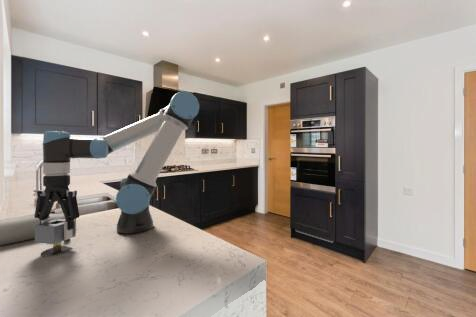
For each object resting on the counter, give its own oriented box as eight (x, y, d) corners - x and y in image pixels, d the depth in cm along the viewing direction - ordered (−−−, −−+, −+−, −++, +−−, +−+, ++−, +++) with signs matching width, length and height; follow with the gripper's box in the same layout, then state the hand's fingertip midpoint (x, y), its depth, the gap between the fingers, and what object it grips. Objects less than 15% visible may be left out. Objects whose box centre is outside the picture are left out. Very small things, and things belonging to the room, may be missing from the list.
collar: (75, 236, 82) (75, 220, 82) (53, 244, 75) (54, 226, 75) (57, 234, 84) (58, 218, 84) (34, 242, 76) (35, 224, 76)
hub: (79, 247, 83) (79, 232, 83) (56, 257, 75) (56, 241, 75) (57, 246, 85) (57, 231, 85) (33, 256, 76) (33, 240, 76)
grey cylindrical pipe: (-15, 241, 87) (72, 224, 108) (-15, 253, 80) (78, 233, 101) (-16, 217, 86) (73, 205, 107) (-16, 227, 79) (78, 212, 100)
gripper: (91, 174, 82) (91, 235, 82) (41, 173, 85) (41, 233, 85) (74, 175, 74) (74, 243, 74) (19, 175, 77) (19, 240, 77)
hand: (57, 238), depth 80 cm, fingers closed on collar, 8 cm apart
